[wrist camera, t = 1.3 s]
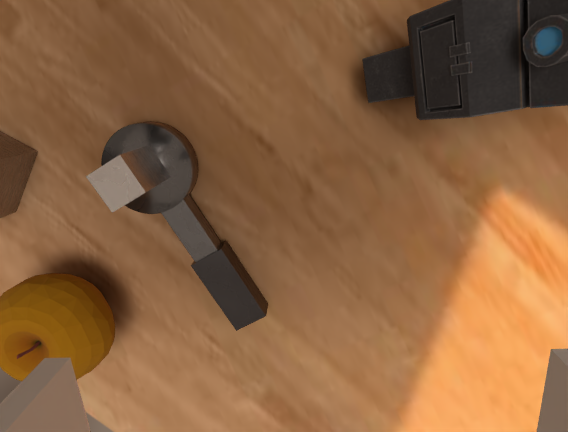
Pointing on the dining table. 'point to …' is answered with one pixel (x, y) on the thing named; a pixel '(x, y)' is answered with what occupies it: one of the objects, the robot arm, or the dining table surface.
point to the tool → (477, 59)
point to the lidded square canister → (13, 172)
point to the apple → (54, 324)
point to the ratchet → (175, 209)
